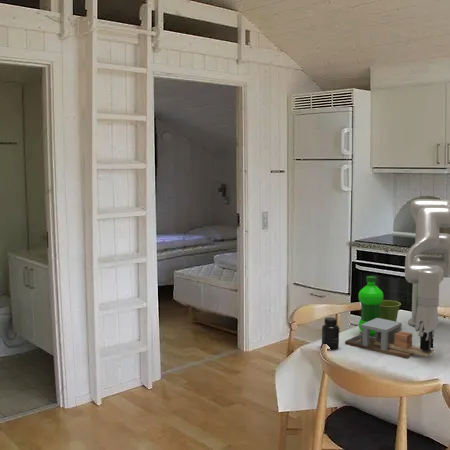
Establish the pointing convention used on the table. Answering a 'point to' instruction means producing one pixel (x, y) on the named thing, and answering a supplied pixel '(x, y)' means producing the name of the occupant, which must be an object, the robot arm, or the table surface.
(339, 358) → the table surface
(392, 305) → the plant pot
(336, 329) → the supplement bottle
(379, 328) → the tunnel
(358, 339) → the track board
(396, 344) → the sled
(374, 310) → the plastic bottle
